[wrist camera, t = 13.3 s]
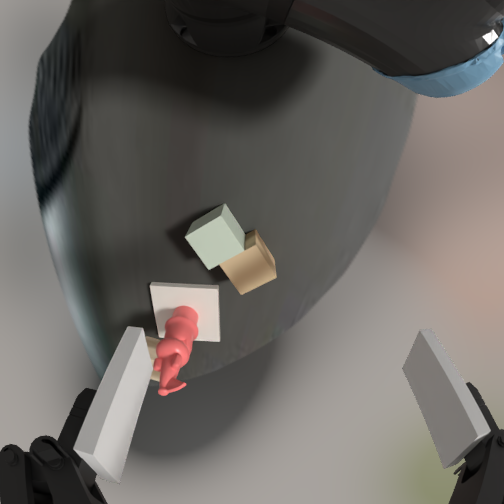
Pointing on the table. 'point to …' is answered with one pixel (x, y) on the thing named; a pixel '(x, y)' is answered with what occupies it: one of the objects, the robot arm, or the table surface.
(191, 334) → the figurine
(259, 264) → the oak block
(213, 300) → the coaster
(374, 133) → the table surface
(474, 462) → the robot arm
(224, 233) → the sage block
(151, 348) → the maple block
